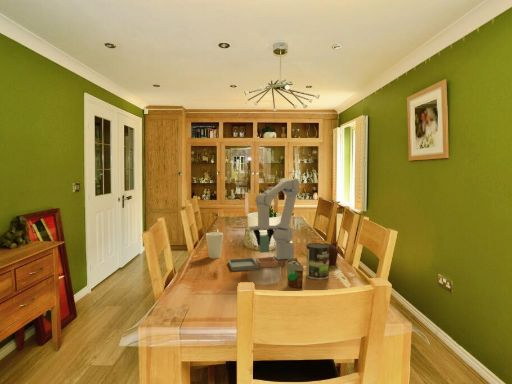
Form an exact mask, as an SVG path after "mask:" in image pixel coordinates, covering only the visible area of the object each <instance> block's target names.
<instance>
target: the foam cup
mask: <svg viewBox="0 0 512 384" xmlns="http://www.w3.org/2000/svg"><path fill="white" fill-rule="evenodd" d="M205 239H206V244H207V246H206V247H207V252H208V257H209V259H219V258H221V256H222V250H223V249H222V248H223V241H224V240H223V239H224V233H223V232H219V231H211V232H206V234H205Z"/></svg>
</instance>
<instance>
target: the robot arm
mask: <svg viewBox="0 0 512 384" xmlns="http://www.w3.org/2000/svg"><path fill="white" fill-rule="evenodd" d="M278 181H279V182H278V183H277V184H276V185H274V186H269V187H268V188H267V189H266V190H264V191H263V192H262V193H259V194H257V195H256V197H255V199H254V201H255V204H256V208H257V225H253V226H248V231H249V232H252V231H253V233H254V236H255V238H256V243H257V246H258V245H260V235H261V232H260V231H266V235H268V236H269V246H270V244H271V240H272V239H273V240H274V241H275V255H274V254H273V258H274V259H275V258H276V259H275V260H277V261H278V260H288V259H292V258H295V257H294V256H295V253H294V252H295V249H294V248H295V246H294V242H293V241H292V239H293V237H294V236H293V233H294V232H293V231H294V229H293V227H292V226H291V225H290V224H291V220H292V216H293V212H294V208H295V203H296V199H297V195H298V194H299V190H300V187H301V184H300V180H299V179H298V177H297V178H295V177H294V178H290V177H289V178H286V177H282V178H280V179H279V180H278ZM281 191H282V193H283V194H284V195H285V196H286V197H285V202H284V206H283V210H282V214H281V218H280V222H279V223H278V224H276V225H270V205H271V204H272V202H273V200H274V199H276V198H277V197H278V196H279V193H280V192H281Z"/></svg>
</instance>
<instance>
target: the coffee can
mask: <svg viewBox="0 0 512 384" xmlns="http://www.w3.org/2000/svg"><path fill="white" fill-rule="evenodd" d="M305 246H306V264H305V265H306V268H305V269H306V272H305V275H306V277H307V278H309V279H311V280H317V281H318V280H326V279H328V278H330V266H329V247H330V246H329V245H327V244H325V243H320V242H313V243H312V242H311V243H307V244H306V245H305Z"/></svg>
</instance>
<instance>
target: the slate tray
mask: <svg viewBox="0 0 512 384" xmlns="http://www.w3.org/2000/svg"><path fill="white" fill-rule="evenodd" d="M227 264H228V266H229V268H230V269H231V272H238V271H240V272H241V271H254V270H260V268H259V265H258V263H257V262H256V259H255V258H253V257H246V258H244V257H242V258H241V257H240V258H230V259H229V258H228V262H227Z"/></svg>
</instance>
